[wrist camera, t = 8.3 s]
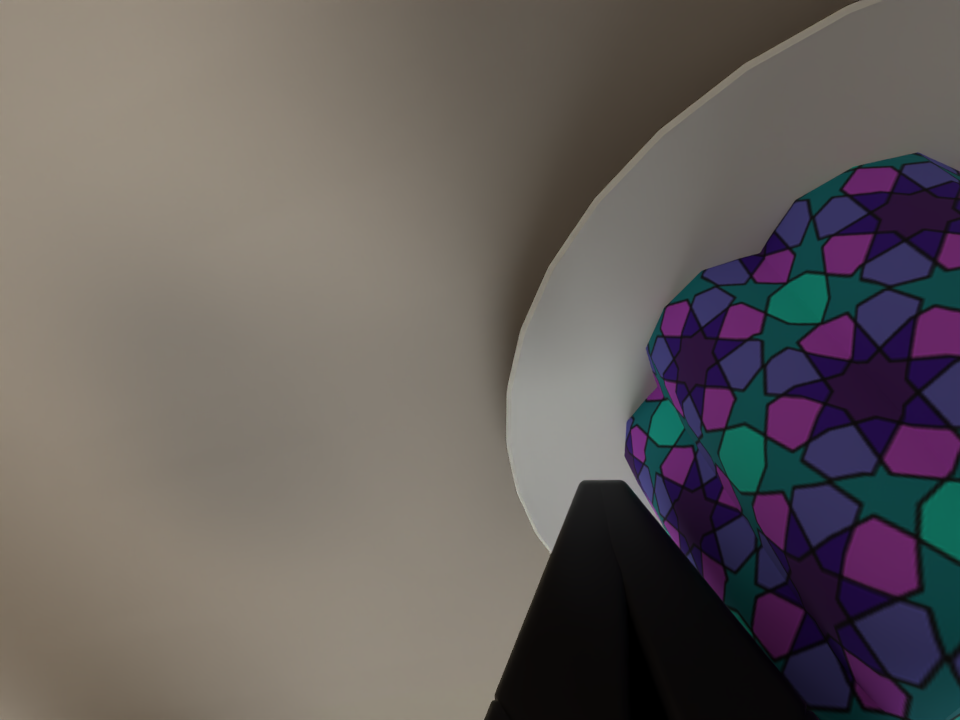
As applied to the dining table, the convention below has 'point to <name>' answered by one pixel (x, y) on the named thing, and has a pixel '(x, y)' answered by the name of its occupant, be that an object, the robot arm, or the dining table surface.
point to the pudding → (781, 355)
